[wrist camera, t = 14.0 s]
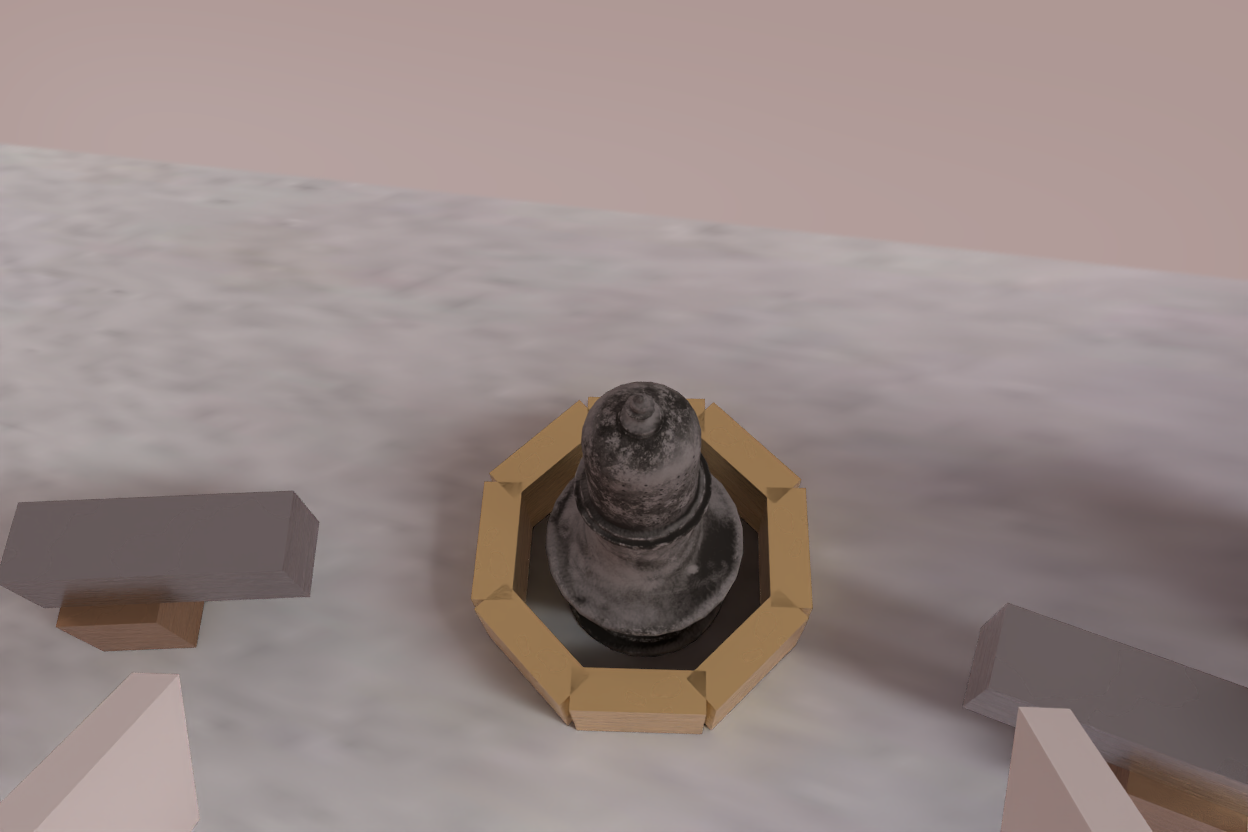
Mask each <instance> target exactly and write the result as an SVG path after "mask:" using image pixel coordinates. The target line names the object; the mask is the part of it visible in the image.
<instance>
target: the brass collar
mask: <svg viewBox="0 0 1248 832" xmlns="http://www.w3.org/2000/svg"><path fill="white" fill-rule="evenodd" d="M599 398H600V397H588V408H587V407H586V406H585V405H584V404H583V403H582V402H581V401H580V400H579V401H578V402H576V403H575V404H574V405H573V406H571V407H570V408H569V409H568V410H566V411H565V412H564V413H563V414H562V415H560V416H559V417H558V418H557V419H555V420H554V421H553V422H552V423H550V424H549V425H548V426H547V427H546V428H544V429H543V430H542V431H541V432H539V433H538V434H537V435H536V436H534V437H533V438H532V439H531V440H530V441H528V442H527V443H526V444H525V445H523V446H522V447H521V448H520V449H518V450H517V451H516V452H515V453H513V454H512V455H511V456H510V457H509V458H507V459H506V460H505V461H504V462H502V463H501V464H500V465H499V466H497V467H496V468H495V469H494V470H493V471H491V472H490V473H489V474H490V476H491V479H492V482H484V490H483V499H482V508H481V516H480V525H479V534H478V542H477V551H476V560H475V569H474V577H473V586H472V595H471V600H472V602H473V604H474V605H475V607H476V608H475V609H474V610H475V612H476V613H477V615H478V617H479V619H480V620H481V622H482V624H483V626H484V627H485V629H486V631H487V633H488V635H489V636H490V638H491V639H492V640H493V641H494V642H495V643H496V644H497V646H498V647H499V648H500V649H501V650H502V651H503V652H504V654H505V655H506V656H507V657H508V658H509V659H510V660H511V662H512V663H513V664H514V665H515V666H516V667H517V668H518V670H519V671H520V672H521V673H522V674H523V675H524V676H525V678H526V679H527V680H528V681H529V682H530V683H531V684H532V686H533V687H534V688H535V689H536V690H537V691H538V692H539V694H540V695H541V696H542V697H543V698H544V699H545V700H546V702H547V703H548V704H549V705H550V706H551V707H552V708H553V710H554V711H555V712H556V713H557V714H558V715H559V716H560V718H561V719H562V720H563V721H564V722H565V723H566V724H567V726H568V725H569V724H570V723H571V722H572V721H574V724H575V726H576V729H577V730H586V731H618V732H649V733H680V734H702V730H703V726H704V723H705V724H706V725H707V726H708V728H709V729H710V730H712V729H713V728H714V727H715V726H716V725H717V724H718V723H719V722H720V721H721V720H722V719H723V718H724V717H725V716H726V715H727V714H728V713H729V712H730V711H731V710H732V709H733V708H734V707H735V706H736V705H737V704H738V703H739V702H740V701H741V700H742V699H743V698H744V697H745V696H746V695H747V694H748V693H749V692H750V691H751V690H752V689H753V688H754V687H755V686H756V685H757V684H758V683H759V682H760V681H761V680H762V679H763V678H764V677H765V676H766V675H767V674H768V673H769V672H770V671H771V670H772V669H773V668H774V667H775V666H776V665H777V663H778V662H779V661H780V660H781V659H782V658H783V657H784V656H785V655H786V654H787V653H788V652H789V651H790V650H791V649H792V648H793V647H794V646H795V645H796V644H797V641H798V639H799V637H800V635H801V633H802V631H803V629H804V627H805V625H806V623H807V621H808V619H809V615H810V613H811V611H812V609H813V604H812V587H811V570H810V553H809V536H808V519H807V502H806V488H799V485H800V482H801V479H800V478H799V477H798V476H797V475H796V474H794V473H793V472H792V471H791V470H790V469H789V468H788V467H787V466H785V465H784V464H783V463H782V462H781V461H780V460H779V459H777V458H776V457H775V456H774V455H773V454H772V453H771V452H769V451H768V450H767V449H766V448H765V447H764V446H763V445H762V444H760V443H759V442H758V441H757V440H756V439H755V438H754V437H752V436H751V435H750V434H749V433H748V432H747V431H746V430H745V429H743V428H742V427H741V426H740V425H739V424H738V423H737V422H735V421H734V420H733V419H732V418H731V417H730V416H729V415H727V414H726V413H725V412H724V411H723V410H722V409H721V408H720V407H718V406H717V405H716V404H715V403H712V404H711V405H710V406H709V407H708V408H707V409H705V399H687V400H688V401H689V403H690V404H691V406H692V408H693V409H694V411H695V412H696V415H697V417H698V420H699V424H700V427H701V453H702V455H703V456H704V458H705V459H706V461H707V463H708V467H709V470H710V473H711V474H712V475H713V476H714V477H715V478H716V479H717V480H718V481H719V482H721V483H722V484H723V486H724V488H725V489H726V491H727V492H728V494H729V495H730V497H731V499H732V500H733V502H734V503H735V505H736V508H737V511H738V515H739V516H740V517H742V518H743V519H744V520H745V521H746V522H747V523H748V524H749V525H750V526H751V527H752V528H753V529H754V530H756V531H757V532H758V552H759V583H760V607H759V608H758V609H757V610H756V611H755V612H754V613H753V614H752V615H751V616H750V617H749V618H748V619H747V620H746V621H745V622H744V623H743V624H742V625H741V626H740V627H739V628H738V629H737V630H735V631H734V632H733V633H732V634H731V635H730V636H729V637H728V638H727V639H726V640H725V641H724V642H723V643H722V644H721V645H720V646H719V647H718V648H717V649H716V650H715V651H714V652H713V653H712V654H711V655H710V656H709V657H708V658H707V659H706V660H705V661H704V662H703V663H702V664H701V665H700V666H699V667H698V668H696V669H695V670H694V671H692V670H657V669H623V668H588V667H582V665H581V664H580V663H579V662H578V661H577V660H576V659H575V658H574V657H573V656H572V654H571V653H570V652H569V651H568V650H567V649H566V648H565V647H564V646H563V645H562V643H561V642H560V641H559V640H558V639H557V638H556V637H555V636H554V635H553V634H552V632H551V631H550V630H549V629H548V628H547V627H546V626H545V625H544V624H543V623H542V621H541V620H540V619H539V618H538V617H537V616H536V615H535V614H534V613H533V612H532V610H531V609H530V608H529V607H528V606H527V605H526V598H527V587H528V575H529V564H530V552H531V541H532V529H533V527H534V526H535V525H536V524H537V523H539V522H540V521H541V520H542V519H543V518H544V517H546V516H547V515H548V514H549V513H550V512H552V510H553V507H554V504H555V501H556V500H557V498H558V497H559V495H560V494H561V493H562V491H563V490H564V488H565V487H566V486H567V484H568V483H569V481H570V480H572V479H573V478H574V477H575V473H576V471H577V468H578V465H579V463H580V460H581V459H582V457H583V453H582V446H581V436H582V428H583V425H584V422H585V419H586V417H587V414H588V412H589V410H590V409H591V407H592V406H593V405H594V403H595V402H596V401H597V400H598V399H599Z"/></svg>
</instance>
